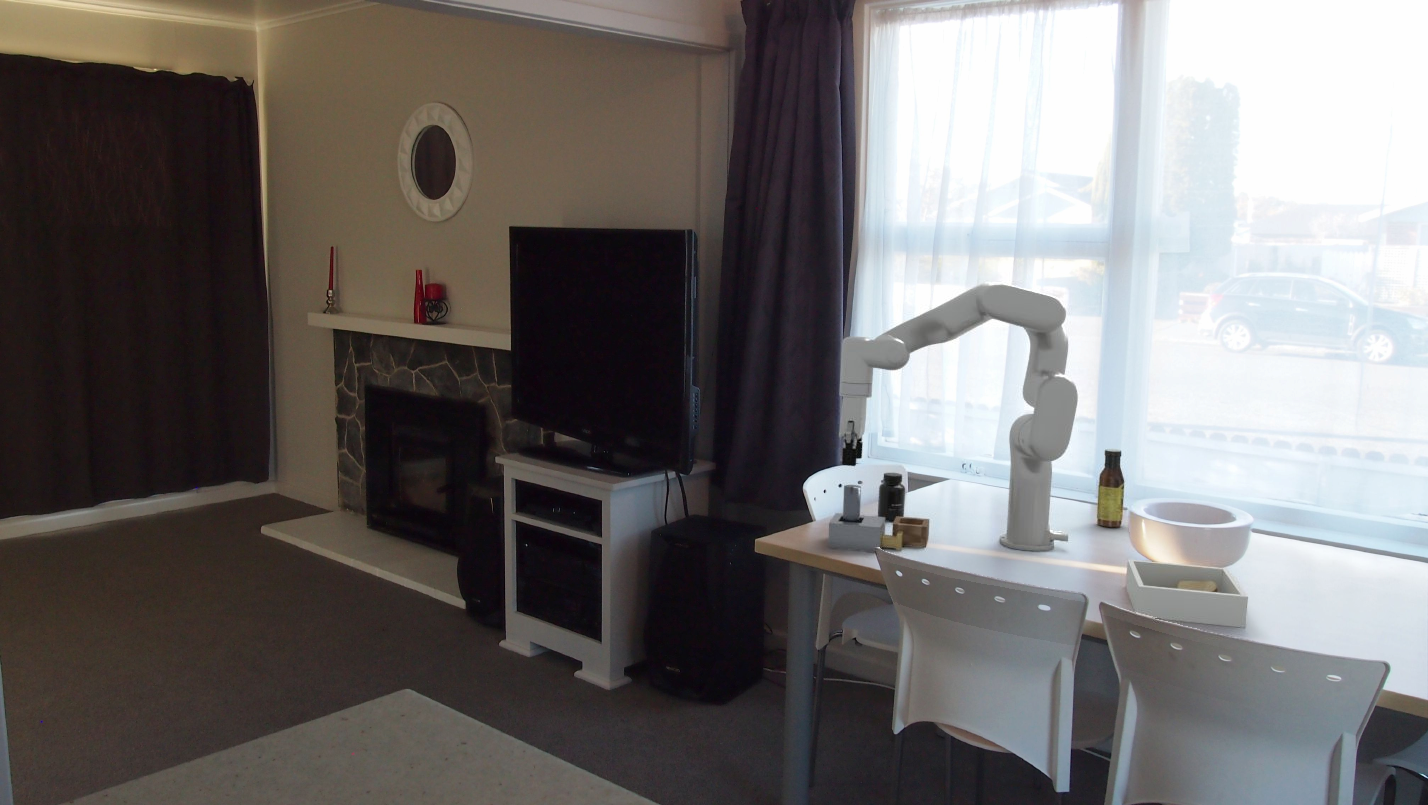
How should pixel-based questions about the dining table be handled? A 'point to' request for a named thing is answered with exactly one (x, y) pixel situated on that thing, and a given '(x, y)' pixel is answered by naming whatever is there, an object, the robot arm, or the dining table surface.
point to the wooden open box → (912, 530)
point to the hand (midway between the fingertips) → (851, 461)
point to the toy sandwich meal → (1198, 585)
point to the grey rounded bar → (851, 503)
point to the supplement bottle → (891, 497)
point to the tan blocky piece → (893, 541)
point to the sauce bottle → (1111, 491)
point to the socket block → (856, 533)
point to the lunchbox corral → (1185, 593)
